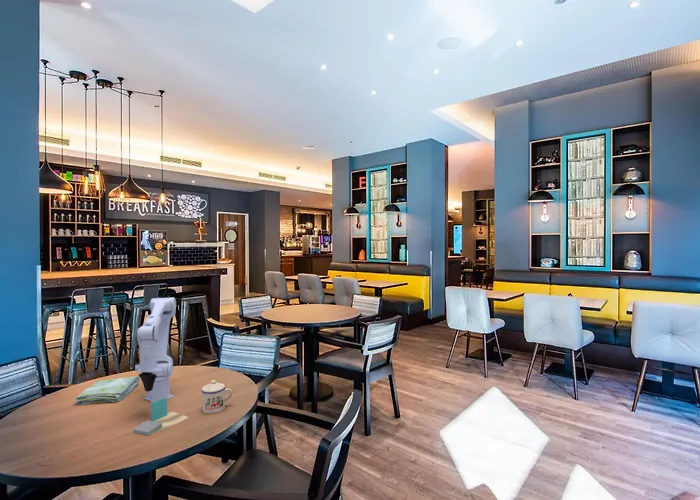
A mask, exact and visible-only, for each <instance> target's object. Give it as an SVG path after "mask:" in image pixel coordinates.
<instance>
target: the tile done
mask: <svg viewBox="0 0 700 500" xmlns="http://www.w3.org/2000/svg"><path fill="white" fill-rule="evenodd" d="M145 421H146V422H145ZM145 421H143V422H144V423H143V422H142V423H143V424H141V423H140V424H139V425H138V426H136V427H135V428H133V430H132V431H133V433H134V434H140V435H144V436H148V437H149V436H151V435H153V434H154V433H156V431H158V430H159V429H160V428H162V423H157V422H152V421H147V420H145Z"/></svg>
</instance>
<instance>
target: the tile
mask: <svg viewBox="0 0 700 500" xmlns="http://www.w3.org/2000/svg"><path fill="white" fill-rule="evenodd" d="M167 412H168V399H167V397H163V398H160V399H158V400H155V401H153V402H152V401H150V402H149V414H150V415H149V416H150V419H149V420H150V421H152V422H153V421H155V420H158V419H160V418H162V417H164V416H167Z"/></svg>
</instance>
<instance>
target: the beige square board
mask: <svg viewBox="0 0 700 500" xmlns="http://www.w3.org/2000/svg"><path fill="white" fill-rule="evenodd" d="M189 418H190V416H186V415H184V414H181V413H178V412H175V411H172V410H167V416H164V417H162V418H160V419H158V420H155V421H153V422H157V423H162V428H160V429H159V430H157V431H158V432H162V431H165V430H166V429H169V428H170V427H173V426H175V425H177V424H179V423H180V422H182V421H185V420H187V419H189ZM146 421H150V419H147V420H145V421H143V422H141V423H140V425H141V424H143V423H144V422H146Z"/></svg>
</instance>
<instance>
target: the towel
mask: <svg viewBox="0 0 700 500" xmlns="http://www.w3.org/2000/svg"><path fill="white" fill-rule="evenodd" d="M139 382H140V377H139V375H137V376H128V377H127V376H126V377H119V378H111V379H110V378H108V379H104V380H97V381H95V382H94V383H92V384H91V385H90V386H88V387H87V388H86V389H84V390H83V391H82V392H81V393H79V394H78V395H77V396H76V397H75V398H74V400H75V401H76V402H75V404H76V405H80V406H83V405H90V404H100V403H116V402H117V403H118V402H119V403H120V402H121V401H122V400H124V399H126V397H127V396H128V395H129V394H130V393H131V392H133V391H134V390H135V389H136V388H137V387H138V384H139Z"/></svg>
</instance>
